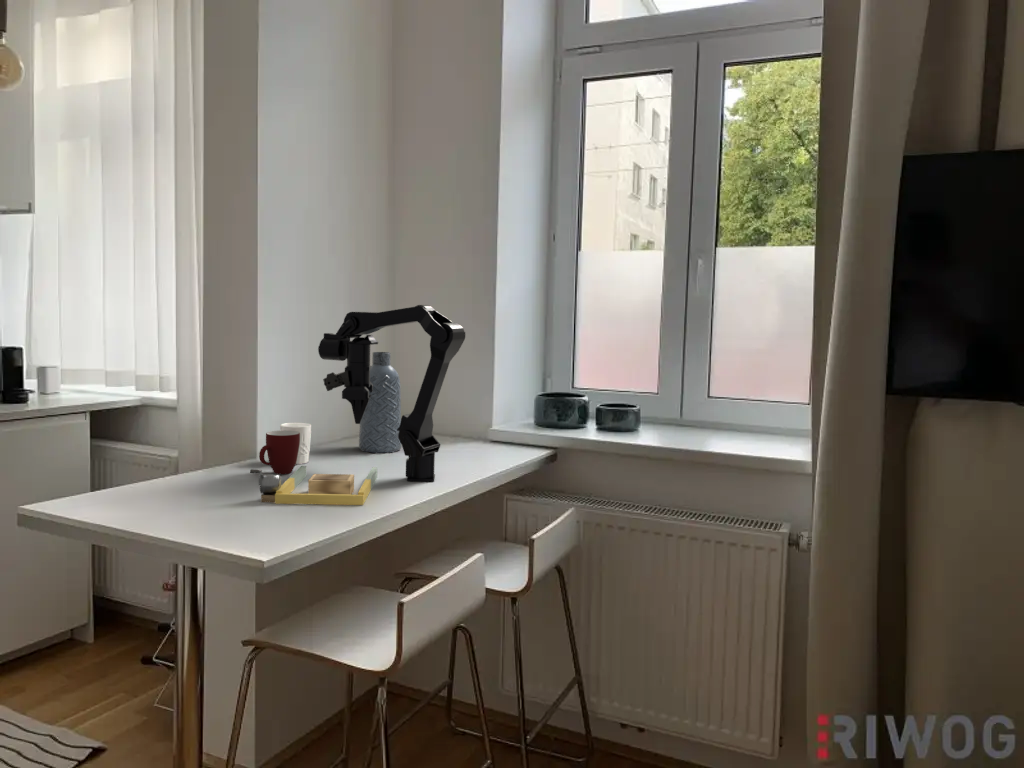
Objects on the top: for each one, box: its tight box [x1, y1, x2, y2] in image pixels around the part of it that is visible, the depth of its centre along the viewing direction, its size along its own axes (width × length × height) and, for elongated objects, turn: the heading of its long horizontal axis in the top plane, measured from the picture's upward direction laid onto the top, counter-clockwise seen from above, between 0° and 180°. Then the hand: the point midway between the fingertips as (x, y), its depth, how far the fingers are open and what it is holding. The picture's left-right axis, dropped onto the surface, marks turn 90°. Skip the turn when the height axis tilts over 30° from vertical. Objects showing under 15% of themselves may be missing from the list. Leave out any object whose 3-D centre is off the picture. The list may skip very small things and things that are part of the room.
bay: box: [274, 465, 378, 506], centre depth 189 cm, size 18×28×2 cm, turn 3°
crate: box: [307, 473, 355, 494], centre depth 184 cm, size 9×7×4 cm
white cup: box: [279, 422, 312, 465], centre depth 218 cm, size 8×8×10 cm
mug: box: [258, 430, 300, 475], centre depth 203 cm, size 11×8×10 cm
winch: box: [249, 468, 282, 503], centre depth 177 cm, size 6×4×7 cm, turn 93°
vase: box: [358, 351, 402, 454], centre depth 239 cm, size 12×12×28 cm
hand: (357, 423), depth 209 cm, fingers closed
